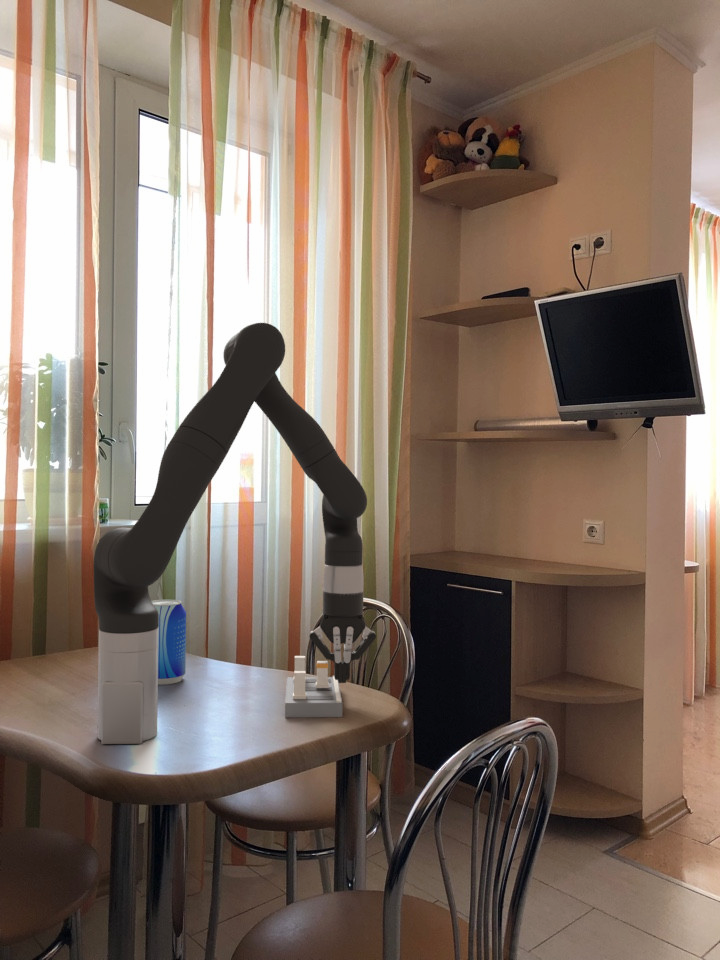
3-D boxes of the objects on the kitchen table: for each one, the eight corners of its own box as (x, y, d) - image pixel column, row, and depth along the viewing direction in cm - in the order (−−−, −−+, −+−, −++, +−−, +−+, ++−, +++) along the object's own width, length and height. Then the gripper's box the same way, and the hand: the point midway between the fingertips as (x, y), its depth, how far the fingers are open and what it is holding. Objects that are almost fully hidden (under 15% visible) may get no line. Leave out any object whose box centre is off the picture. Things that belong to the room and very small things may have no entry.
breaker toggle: (328, 687, 149) (329, 663, 149) (315, 687, 149) (316, 663, 149) (328, 685, 151) (328, 660, 151) (315, 685, 151) (315, 660, 151)
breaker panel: (342, 716, 141) (342, 675, 141) (284, 717, 141) (285, 676, 141) (337, 689, 159) (338, 653, 159) (286, 690, 159) (287, 653, 158)
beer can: (179, 686, 160) (180, 605, 160) (137, 685, 161) (138, 604, 160) (189, 675, 169) (190, 599, 169) (149, 674, 169) (150, 598, 169)
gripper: (307, 591, 146) (306, 687, 146) (380, 592, 147) (379, 687, 147) (307, 586, 153) (306, 677, 153) (376, 586, 154) (375, 677, 154)
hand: (341, 682), depth 150 cm, fingers closed
